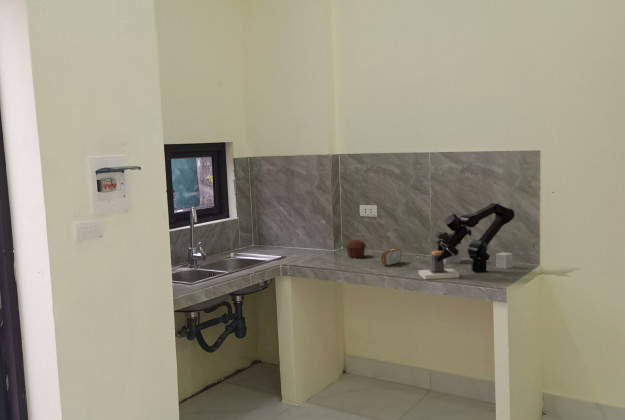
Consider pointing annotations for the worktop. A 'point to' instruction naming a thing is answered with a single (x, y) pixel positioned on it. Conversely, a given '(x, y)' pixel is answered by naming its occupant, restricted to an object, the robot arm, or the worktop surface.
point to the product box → (504, 260)
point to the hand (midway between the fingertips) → (435, 259)
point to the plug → (437, 265)
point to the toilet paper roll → (454, 257)
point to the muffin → (356, 249)
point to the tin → (391, 256)
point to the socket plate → (438, 274)
